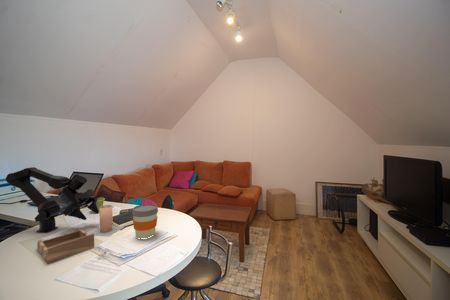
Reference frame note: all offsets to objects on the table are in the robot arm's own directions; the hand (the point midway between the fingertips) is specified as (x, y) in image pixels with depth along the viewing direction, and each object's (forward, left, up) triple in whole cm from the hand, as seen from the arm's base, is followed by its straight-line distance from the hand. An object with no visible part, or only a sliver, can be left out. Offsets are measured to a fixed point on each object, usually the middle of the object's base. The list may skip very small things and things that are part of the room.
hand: (92, 216), depth 107 cm
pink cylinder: (+8, 0, -7) cm, 11 cm away
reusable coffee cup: (+31, -1, -9) cm, 32 cm away
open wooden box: (+3, -19, -8) cm, 21 cm away
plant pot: (-21, +28, -9) cm, 36 cm away
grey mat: (+8, 0, -8) cm, 12 cm away
